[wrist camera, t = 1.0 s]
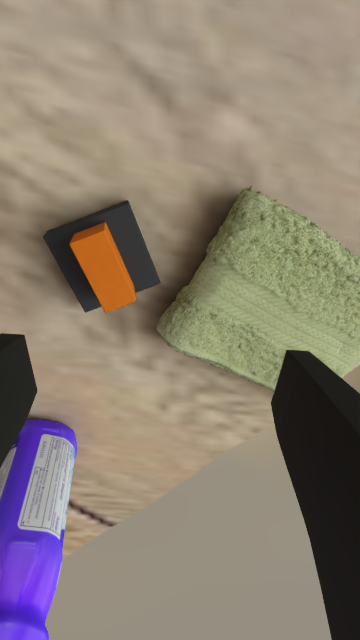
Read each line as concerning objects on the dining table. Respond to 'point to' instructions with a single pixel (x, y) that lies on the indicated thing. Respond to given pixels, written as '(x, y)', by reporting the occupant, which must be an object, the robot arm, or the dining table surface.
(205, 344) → the washcloth
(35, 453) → the bottle
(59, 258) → the connector pad
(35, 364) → the dining table surface
